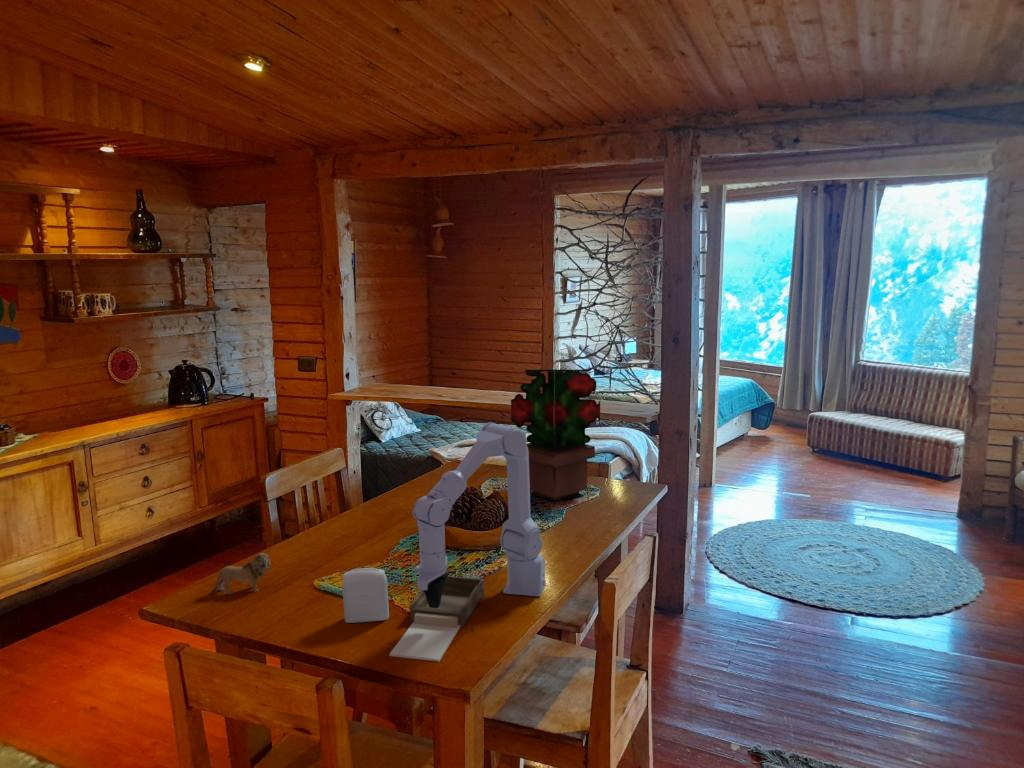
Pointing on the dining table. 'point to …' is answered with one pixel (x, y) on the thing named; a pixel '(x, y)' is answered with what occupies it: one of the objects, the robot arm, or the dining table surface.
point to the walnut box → (453, 599)
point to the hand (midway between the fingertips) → (434, 606)
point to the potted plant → (557, 430)
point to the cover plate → (427, 637)
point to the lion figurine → (244, 573)
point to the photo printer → (365, 595)
